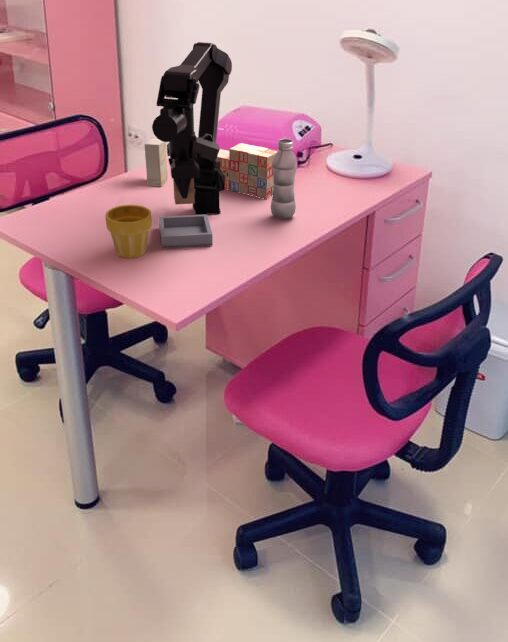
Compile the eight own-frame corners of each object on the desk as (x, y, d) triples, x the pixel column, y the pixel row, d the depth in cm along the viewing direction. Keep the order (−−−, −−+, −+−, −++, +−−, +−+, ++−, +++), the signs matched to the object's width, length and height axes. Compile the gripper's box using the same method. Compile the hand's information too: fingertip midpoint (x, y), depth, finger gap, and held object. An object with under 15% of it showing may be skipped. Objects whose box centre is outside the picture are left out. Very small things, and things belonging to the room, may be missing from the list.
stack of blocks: (202, 184, 207) (201, 142, 201) (214, 178, 212) (214, 136, 206) (266, 200, 198) (267, 156, 191) (277, 193, 202) (279, 150, 196)
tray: (207, 225, 182) (207, 214, 181) (212, 245, 172) (212, 234, 171) (159, 227, 181) (158, 216, 179) (161, 248, 170) (161, 236, 169)
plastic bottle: (299, 214, 189) (302, 139, 179) (289, 223, 184) (292, 146, 174) (276, 210, 192) (279, 135, 181) (266, 219, 186) (268, 142, 176)
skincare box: (161, 187, 205) (159, 145, 198) (146, 186, 205) (143, 144, 199) (168, 179, 210) (166, 138, 204) (153, 178, 211) (151, 137, 204)
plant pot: (157, 259, 166) (154, 219, 161) (111, 264, 163) (108, 224, 158) (149, 240, 174) (147, 202, 169) (106, 245, 172) (102, 206, 166)
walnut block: (174, 197, 173) (173, 173, 170) (192, 196, 174) (192, 172, 171) (175, 204, 169) (174, 180, 166) (194, 203, 170) (193, 179, 167)
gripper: (221, 140, 156) (222, 207, 164) (212, 116, 172) (213, 179, 180) (170, 142, 154) (173, 210, 163) (165, 117, 170) (168, 181, 178)
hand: (183, 194), depth 171 cm, fingers closed on walnut block, 4 cm apart
